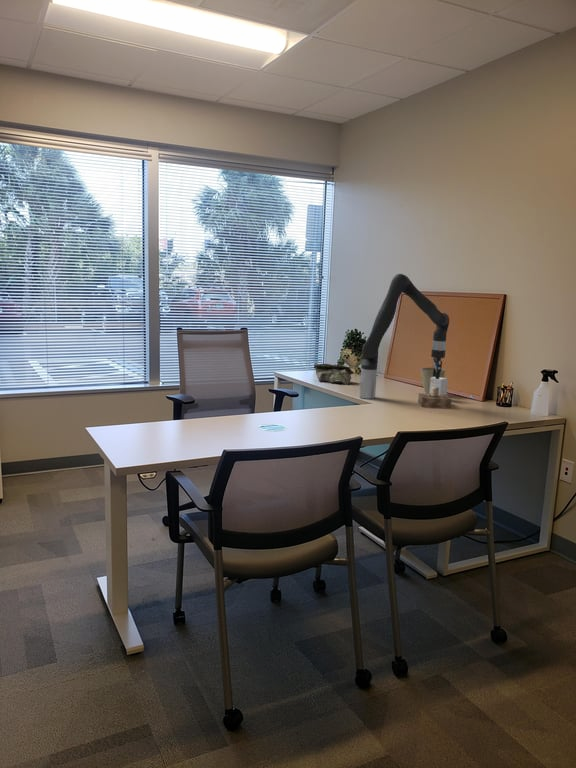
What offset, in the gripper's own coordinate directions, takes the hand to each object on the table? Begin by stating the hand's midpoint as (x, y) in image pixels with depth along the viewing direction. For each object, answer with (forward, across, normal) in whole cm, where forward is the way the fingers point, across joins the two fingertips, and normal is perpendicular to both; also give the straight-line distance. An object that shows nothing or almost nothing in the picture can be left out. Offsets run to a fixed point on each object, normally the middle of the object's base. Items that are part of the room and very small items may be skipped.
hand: (436, 377), depth 325 cm
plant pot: (+16, -35, +4) cm, 39 cm away
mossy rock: (+17, -63, -58) cm, 88 cm away
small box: (+16, -18, +5) cm, 25 cm away
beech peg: (+16, 0, 0) cm, 16 cm away
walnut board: (+16, 0, 0) cm, 16 cm away
